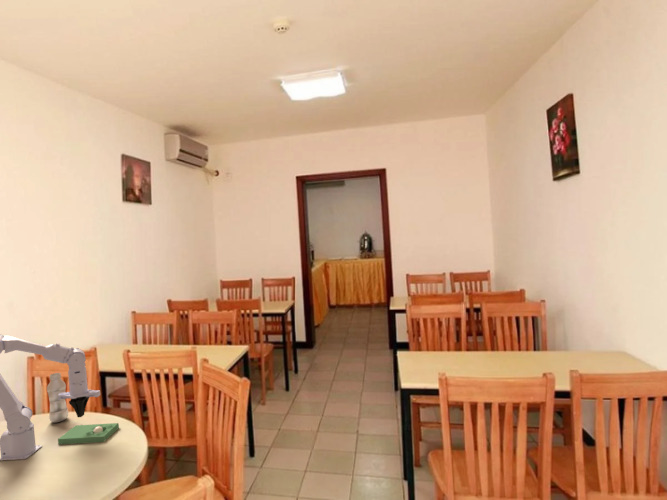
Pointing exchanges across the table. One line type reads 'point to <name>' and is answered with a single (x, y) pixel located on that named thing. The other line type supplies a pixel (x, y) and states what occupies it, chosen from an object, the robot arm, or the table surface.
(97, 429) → the ball
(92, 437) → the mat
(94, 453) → the table surface
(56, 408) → the plastic bottle
